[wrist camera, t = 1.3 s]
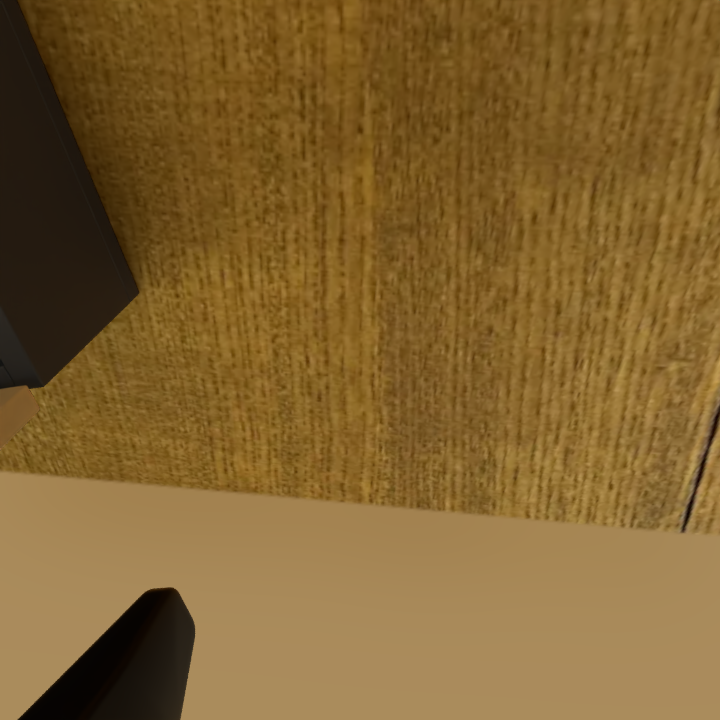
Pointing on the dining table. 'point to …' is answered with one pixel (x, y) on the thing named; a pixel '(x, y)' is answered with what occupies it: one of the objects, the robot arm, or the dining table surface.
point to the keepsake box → (47, 225)
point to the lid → (15, 411)
